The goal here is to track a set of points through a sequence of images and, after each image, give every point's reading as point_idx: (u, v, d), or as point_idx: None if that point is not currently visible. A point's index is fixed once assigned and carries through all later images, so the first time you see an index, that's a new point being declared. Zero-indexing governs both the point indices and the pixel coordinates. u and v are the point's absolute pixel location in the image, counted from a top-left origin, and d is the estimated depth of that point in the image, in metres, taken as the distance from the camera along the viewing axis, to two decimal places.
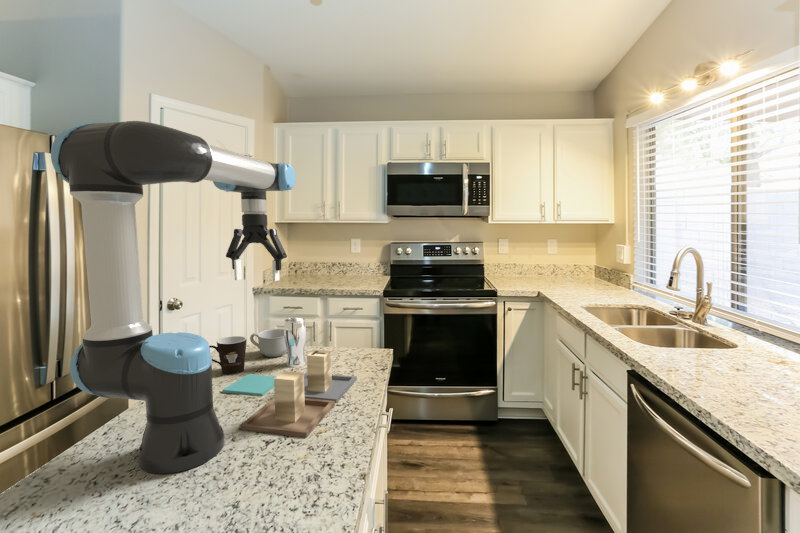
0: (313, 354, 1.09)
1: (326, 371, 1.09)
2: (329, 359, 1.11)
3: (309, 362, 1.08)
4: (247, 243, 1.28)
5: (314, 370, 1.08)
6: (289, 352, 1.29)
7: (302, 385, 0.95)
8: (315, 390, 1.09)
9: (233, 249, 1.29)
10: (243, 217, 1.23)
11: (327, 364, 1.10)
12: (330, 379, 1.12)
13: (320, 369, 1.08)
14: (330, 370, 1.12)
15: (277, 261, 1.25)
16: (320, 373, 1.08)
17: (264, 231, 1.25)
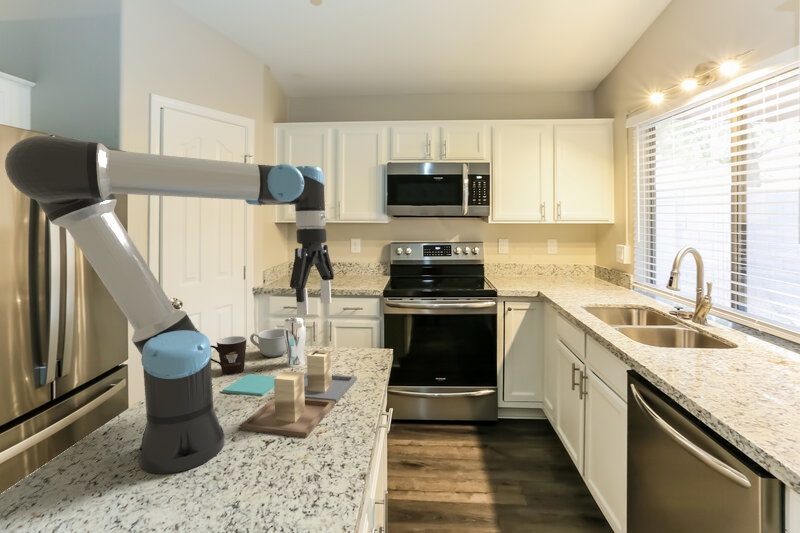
0: (313, 354, 1.09)
1: (326, 371, 1.09)
2: (329, 359, 1.11)
3: (309, 362, 1.08)
4: (318, 263, 1.07)
5: (314, 370, 1.08)
6: (289, 352, 1.29)
7: (302, 385, 0.95)
8: (315, 390, 1.09)
9: None
10: None
11: (327, 364, 1.10)
12: (330, 379, 1.12)
13: (320, 369, 1.08)
14: (330, 370, 1.12)
15: None
16: (320, 373, 1.08)
17: None
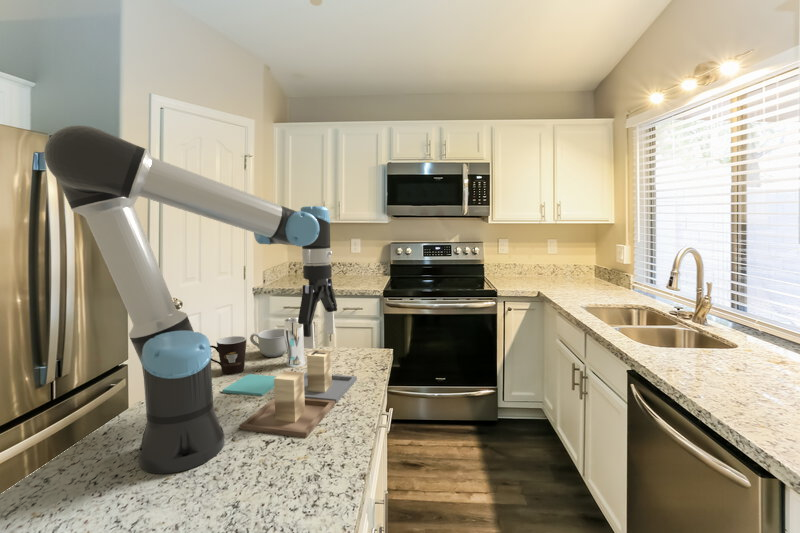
0: (313, 354, 1.09)
1: (326, 371, 1.09)
2: (329, 359, 1.11)
3: (309, 362, 1.08)
4: (323, 296, 1.12)
5: (314, 370, 1.08)
6: (289, 352, 1.29)
7: (302, 385, 0.95)
8: (315, 390, 1.09)
9: None
10: None
11: (327, 364, 1.10)
12: (330, 379, 1.12)
13: (320, 369, 1.08)
14: (330, 370, 1.12)
15: None
16: (320, 373, 1.08)
17: None
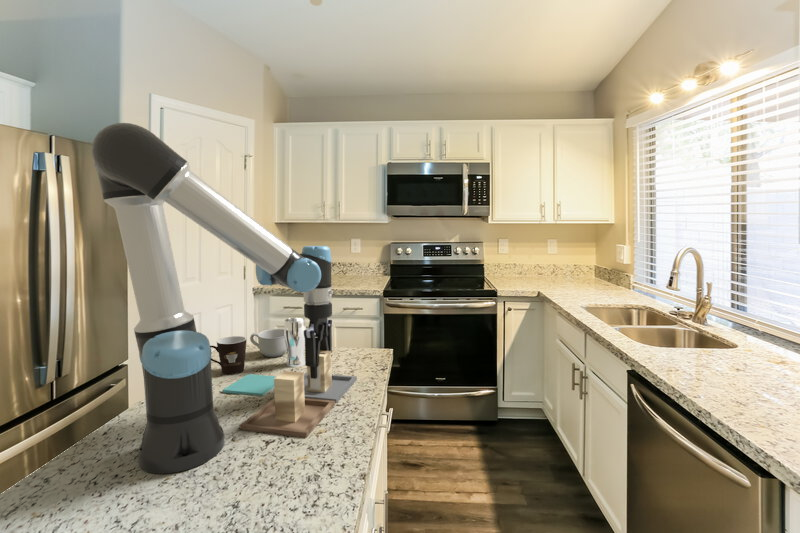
0: None
1: (326, 371, 1.09)
2: (329, 359, 1.11)
3: None
4: None
5: None
6: (289, 352, 1.29)
7: (302, 385, 0.95)
8: (315, 390, 1.09)
9: None
10: None
11: (327, 364, 1.10)
12: (330, 379, 1.12)
13: (320, 369, 1.08)
14: (330, 370, 1.12)
15: None
16: (320, 373, 1.08)
17: None
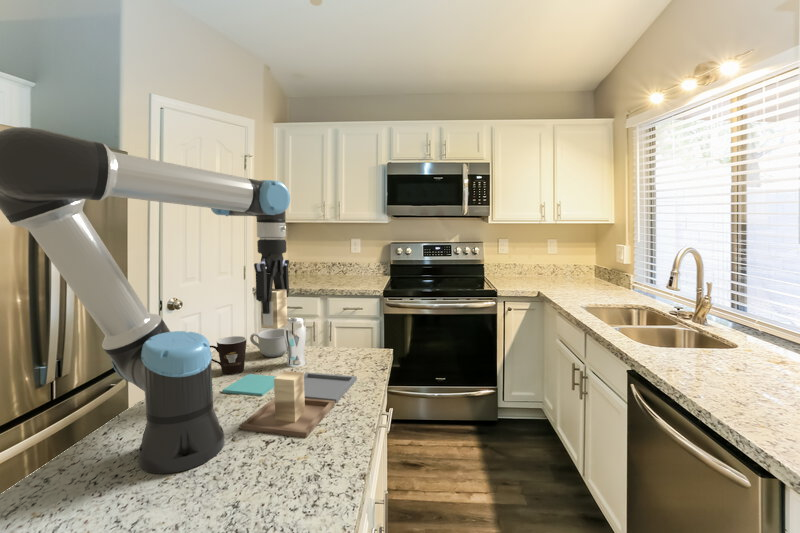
0: None
1: (280, 308, 1.09)
2: (284, 297, 1.11)
3: None
4: (276, 274, 1.11)
5: None
6: (289, 352, 1.29)
7: (302, 385, 0.95)
8: (268, 327, 1.08)
9: None
10: None
11: (281, 302, 1.10)
12: (285, 318, 1.12)
13: (273, 305, 1.08)
14: (285, 309, 1.12)
15: None
16: None
17: None
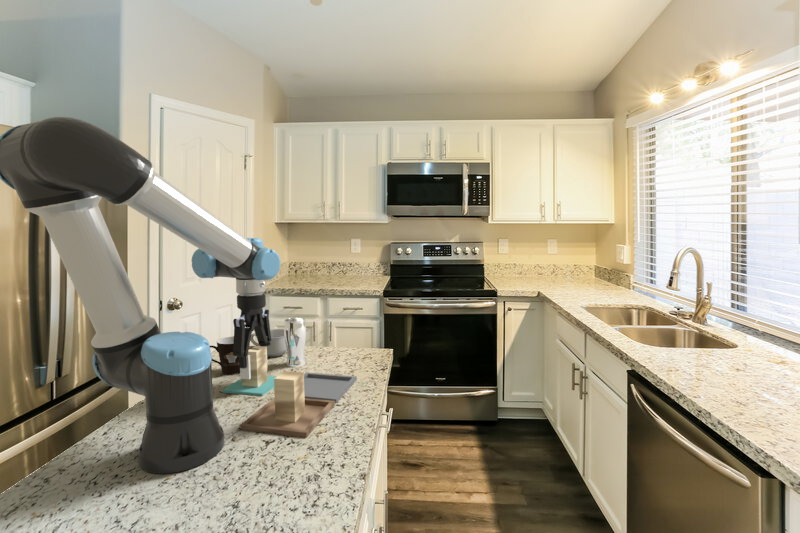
0: None
1: (260, 367, 1.12)
2: (263, 355, 1.13)
3: None
4: (257, 326, 1.14)
5: None
6: (289, 352, 1.29)
7: (302, 385, 0.95)
8: (248, 385, 1.11)
9: None
10: None
11: (261, 360, 1.12)
12: (265, 374, 1.14)
13: (253, 364, 1.10)
14: (265, 366, 1.14)
15: None
16: (252, 368, 1.10)
17: (240, 316, 1.08)
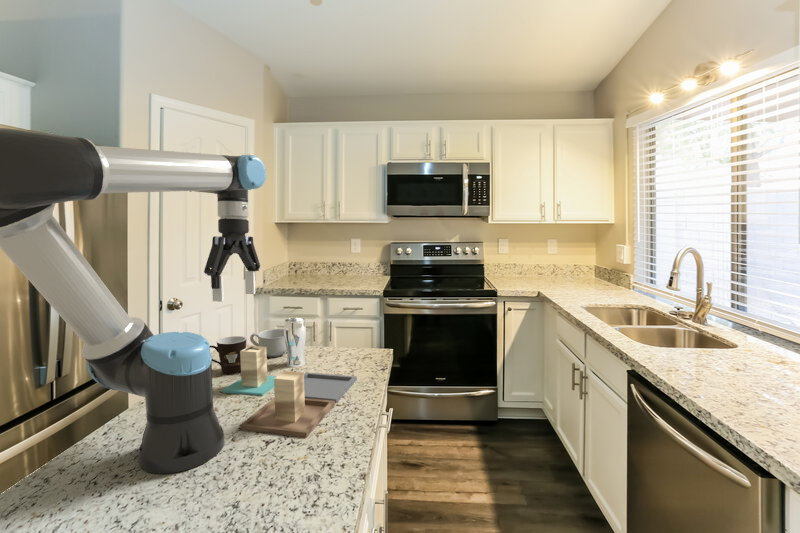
0: (247, 350, 1.11)
1: (260, 367, 1.12)
2: (263, 355, 1.13)
3: (242, 357, 1.11)
4: (242, 253, 1.10)
5: (248, 366, 1.10)
6: (289, 352, 1.29)
7: (302, 385, 0.95)
8: (248, 385, 1.11)
9: None
10: None
11: (261, 360, 1.12)
12: (265, 374, 1.14)
13: (253, 364, 1.10)
14: (265, 366, 1.14)
15: None
16: (252, 368, 1.10)
17: None
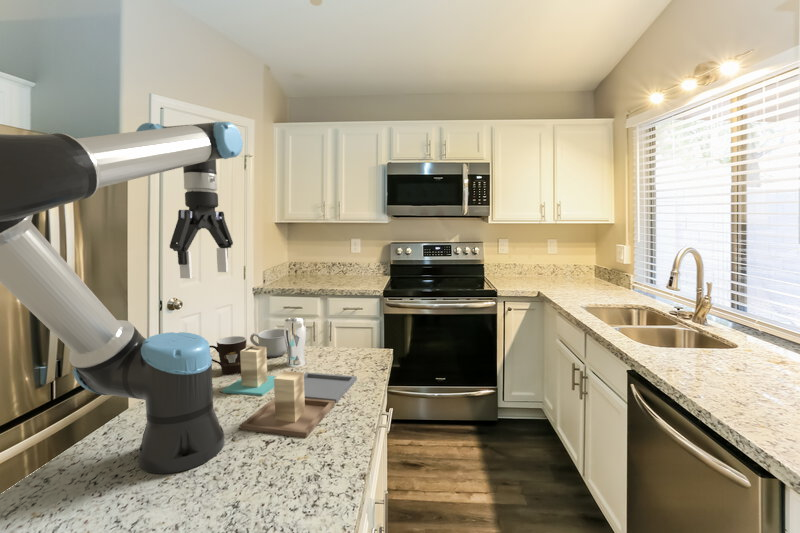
0: (247, 350, 1.11)
1: (260, 367, 1.12)
2: (263, 355, 1.13)
3: (242, 357, 1.11)
4: (212, 229, 1.05)
5: (248, 366, 1.10)
6: (289, 352, 1.29)
7: (302, 385, 0.95)
8: (248, 385, 1.11)
9: (222, 235, 1.10)
10: None
11: (261, 360, 1.12)
12: (265, 374, 1.14)
13: (253, 364, 1.10)
14: (265, 366, 1.14)
15: None
16: (252, 368, 1.10)
17: None
